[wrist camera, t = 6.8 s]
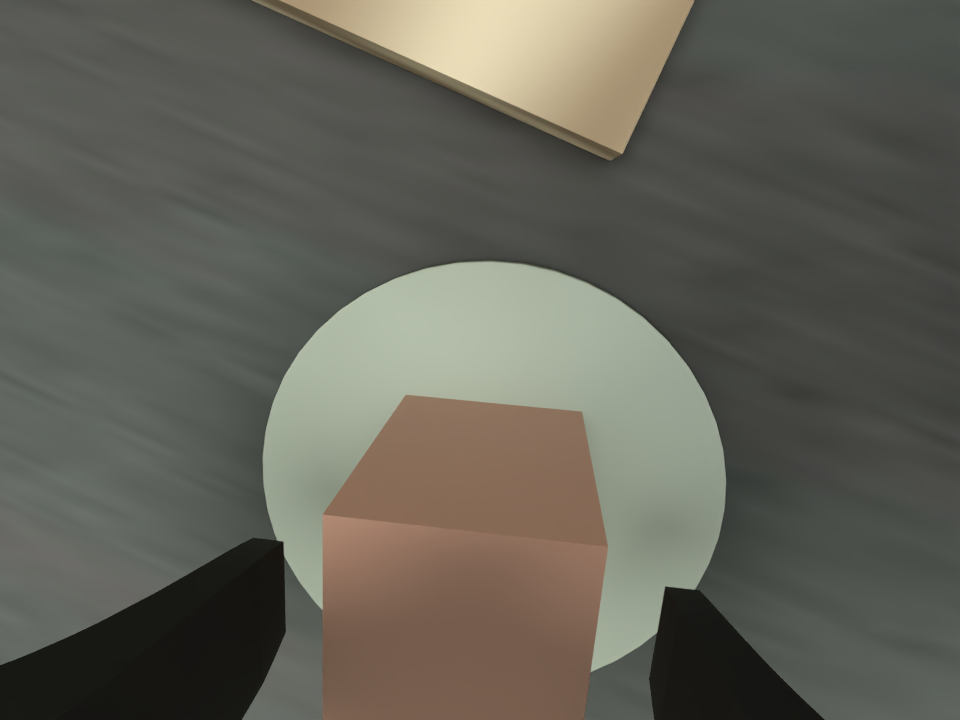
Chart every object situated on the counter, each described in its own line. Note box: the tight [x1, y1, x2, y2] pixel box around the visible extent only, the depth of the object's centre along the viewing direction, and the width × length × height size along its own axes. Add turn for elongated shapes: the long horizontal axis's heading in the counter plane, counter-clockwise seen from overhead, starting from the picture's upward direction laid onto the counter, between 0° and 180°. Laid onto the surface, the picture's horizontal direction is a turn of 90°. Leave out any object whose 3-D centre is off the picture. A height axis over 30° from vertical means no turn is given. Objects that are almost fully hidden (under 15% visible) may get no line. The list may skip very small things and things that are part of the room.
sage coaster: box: [263, 260, 726, 672], centre depth 16 cm, size 12×12×1 cm
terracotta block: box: [323, 395, 608, 720], centre depth 13 cm, size 4×4×6 cm
